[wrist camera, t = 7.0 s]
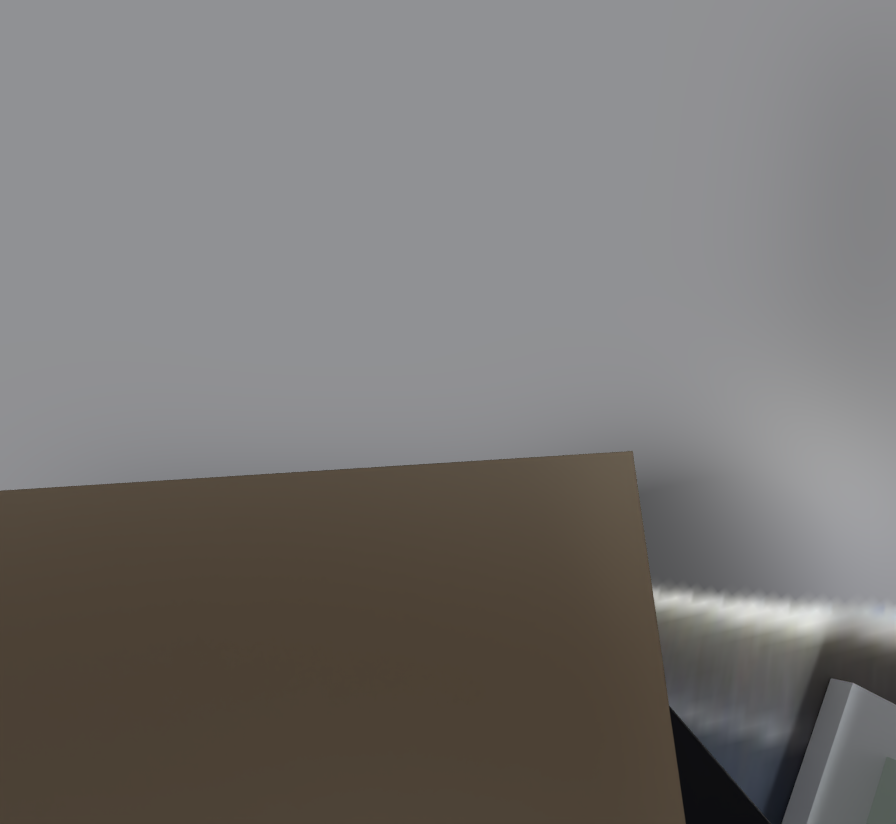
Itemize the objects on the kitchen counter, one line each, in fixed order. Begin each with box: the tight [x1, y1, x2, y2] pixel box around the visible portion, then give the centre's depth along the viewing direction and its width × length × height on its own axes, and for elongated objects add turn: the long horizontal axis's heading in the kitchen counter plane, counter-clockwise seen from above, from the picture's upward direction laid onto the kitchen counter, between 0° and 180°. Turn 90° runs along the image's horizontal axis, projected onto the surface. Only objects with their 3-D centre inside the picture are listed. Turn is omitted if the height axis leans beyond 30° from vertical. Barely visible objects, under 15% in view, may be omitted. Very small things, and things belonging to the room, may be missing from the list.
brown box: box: [0, 451, 686, 824], centre depth 8 cm, size 4×4×12 cm
